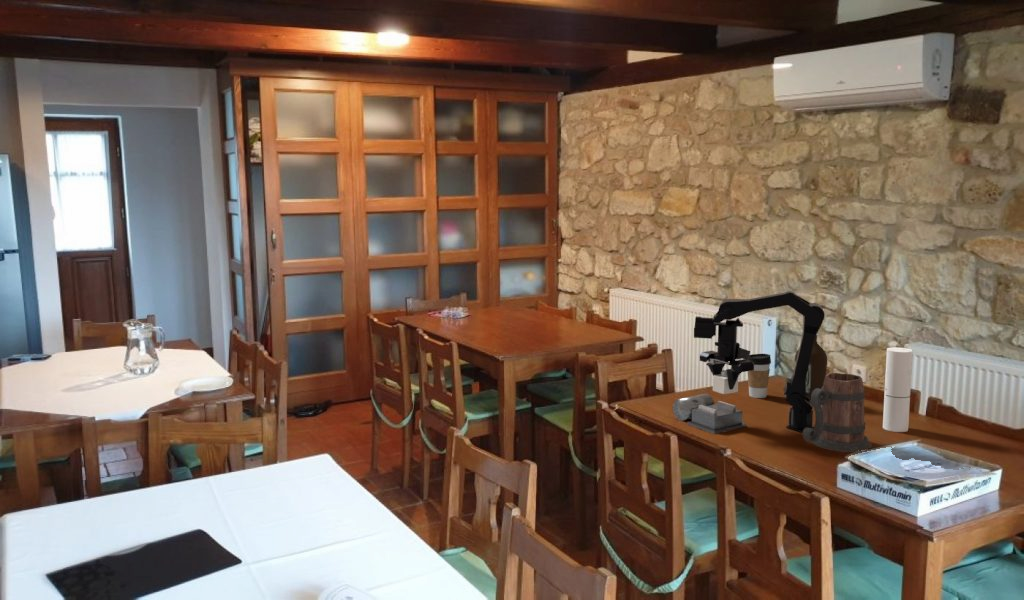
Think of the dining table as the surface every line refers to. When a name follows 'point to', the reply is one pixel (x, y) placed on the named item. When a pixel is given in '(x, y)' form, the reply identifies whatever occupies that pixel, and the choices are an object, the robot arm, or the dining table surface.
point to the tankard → (839, 414)
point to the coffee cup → (759, 375)
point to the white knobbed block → (723, 383)
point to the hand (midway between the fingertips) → (725, 387)
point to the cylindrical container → (897, 389)
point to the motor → (708, 414)
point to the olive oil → (815, 369)
